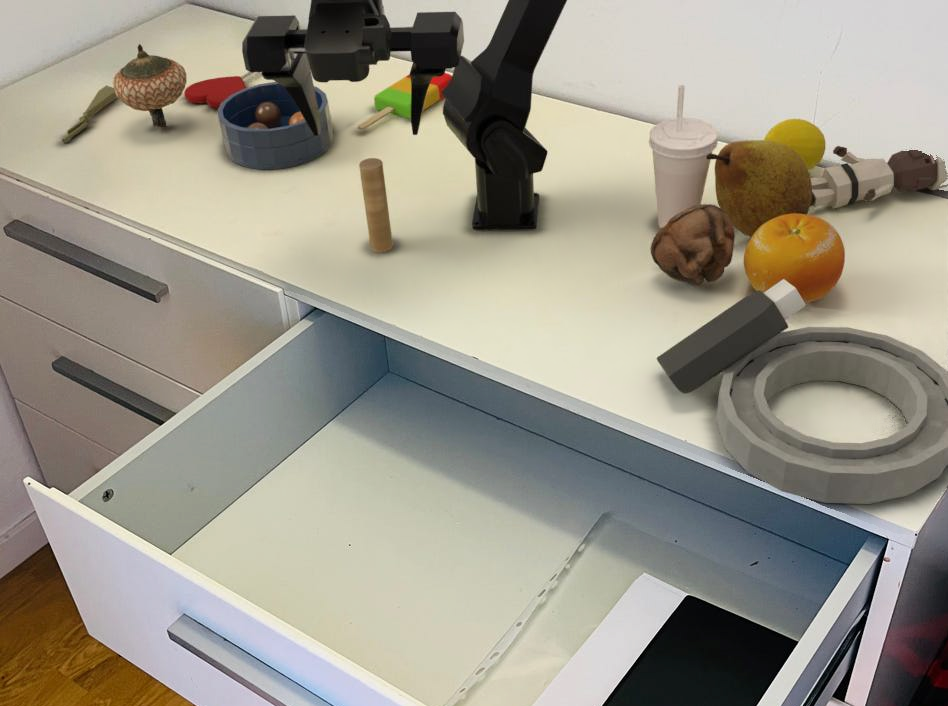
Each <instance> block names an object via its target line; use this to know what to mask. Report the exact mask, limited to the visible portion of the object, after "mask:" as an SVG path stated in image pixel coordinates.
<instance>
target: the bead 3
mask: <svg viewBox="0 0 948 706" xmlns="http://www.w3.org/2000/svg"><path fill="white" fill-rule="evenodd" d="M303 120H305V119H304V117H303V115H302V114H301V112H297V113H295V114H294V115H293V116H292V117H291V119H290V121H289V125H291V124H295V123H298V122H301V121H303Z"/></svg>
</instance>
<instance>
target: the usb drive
mask: <svg viewBox="0 0 948 706" xmlns="http://www.w3.org/2000/svg"><path fill="white" fill-rule="evenodd" d="M806 306H807V303H805V302H804V301H803V299H802V297H801V296H800V294H799V292H798V291H797V289H796V288H795V287H794V286H792V285H791V284H790V283H788V282H787V281H786V280H784V279H783V280H782V281H780V282H779V283H777V284H776V285H774V286H773V287H771V288H770V289H768V290H767V291H765V292H764V293H763V292H762V291H760V290H759V291H755V292H753V293H750V294H748V295H746V296H745V297H743V298H741V299H740V300H739V301H737V302H735V303H734V304H733V305H731V306H730V307H728V308H727V309H725V310H723V311H722V312H721V313H720V314H718V315H716V316H715V317H714V318H712V319H711V320H709V321H708V322H706V323H705V324H703V325H702V326H701V327H699V328H698V329H696V330H695V331H694V332H692V333H690V334H689V335H688V336H686V337H685V338H683V339H681V340H680V341H679V342H677V343H676V344H675V345H673V346H671V347H670V348H668V349H667V350H665V351H664V352H663V353H661V354H660V355H658V357H656V361H657V362H658V364H659V365H660V367H661V369H663V371H664V373H665V374H666V375H667V377H668V379H669V380H670V381H671V383H672V384H673V385H674V387H675V388H676V389H677V391H678V392H680V393H682V394H686V395H687V394H690V393H693V392H694V391H696V390H697V389H699V388H701V387H702V386H703V385H704V384H706V383H708V382H710V381H711V380H713V379H714V378H715V377H717V376H718V375H720V374H721V373H724V370H726V369H727V368H728V367H730V366H731V365H733V364H734V363H736V362H737V361H739V360H740V359H742V358H743V357H745V356H746V355H748V354H749V353H751V352H752V351H754V350H755V349H757V348H758V347H760V346H761V345H763V344H764V343H766V342H767V341H768V340H770V339H771V338H773V337H774V336H776V335H777V334H779V333H781V332H785V331H787V329H789V325H788V322H787V321H786V320H787V319H789V318H791V317H792V316H793V315H794V314H796V313H797V312H799V311H800V310H801V309H804V308H805V307H806Z"/></svg>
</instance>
